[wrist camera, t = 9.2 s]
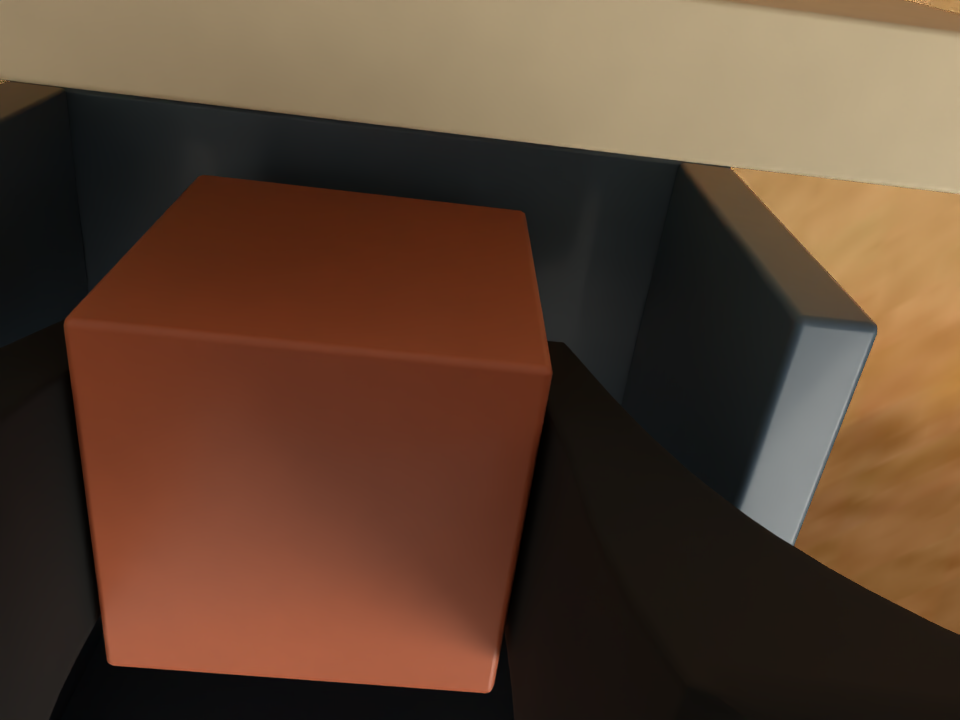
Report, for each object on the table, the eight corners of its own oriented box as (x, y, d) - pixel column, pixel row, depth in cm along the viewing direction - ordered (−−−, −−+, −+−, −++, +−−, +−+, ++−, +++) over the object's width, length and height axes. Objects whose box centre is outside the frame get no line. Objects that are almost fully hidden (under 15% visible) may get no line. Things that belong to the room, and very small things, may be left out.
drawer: (-55, -252, 10) (-638, -409, 5) (836, -124, 11) (1186, -134, 6) (69, 575, 17) (-121, 903, 12) (626, 621, 18) (695, 948, 12)
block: (198, 171, 11) (56, 319, 7) (526, 209, 11) (554, 369, 7) (209, 443, 13) (103, 668, 9) (486, 469, 13) (492, 697, 9)
